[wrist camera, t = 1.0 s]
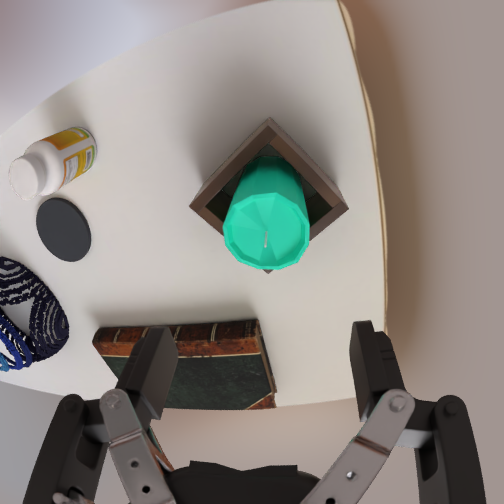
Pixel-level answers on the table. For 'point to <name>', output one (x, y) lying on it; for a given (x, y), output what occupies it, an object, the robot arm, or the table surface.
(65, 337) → the decorative bowl
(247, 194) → the candle
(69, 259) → the coaster
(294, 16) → the table surface
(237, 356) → the book
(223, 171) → the square wooden box
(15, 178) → the supplement bottle
